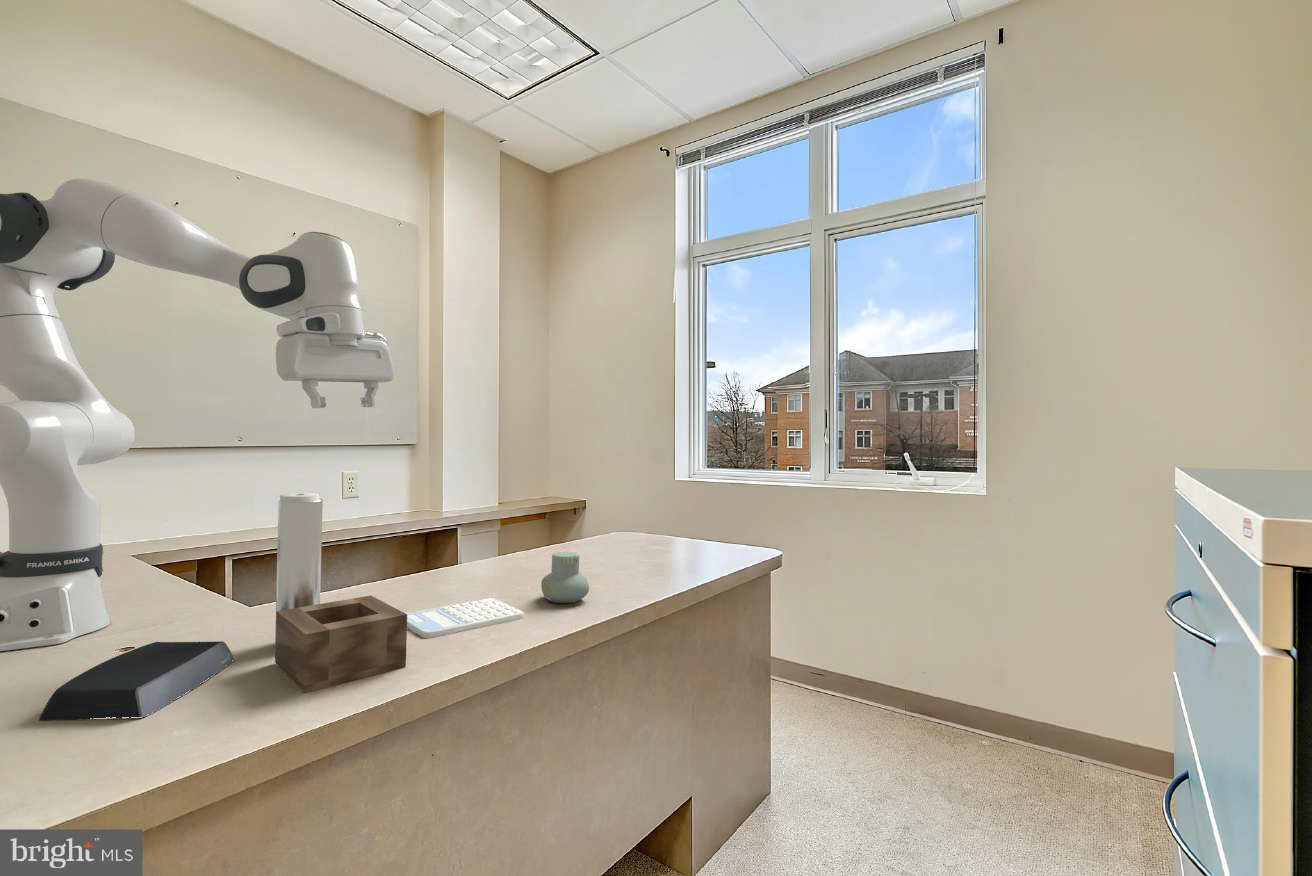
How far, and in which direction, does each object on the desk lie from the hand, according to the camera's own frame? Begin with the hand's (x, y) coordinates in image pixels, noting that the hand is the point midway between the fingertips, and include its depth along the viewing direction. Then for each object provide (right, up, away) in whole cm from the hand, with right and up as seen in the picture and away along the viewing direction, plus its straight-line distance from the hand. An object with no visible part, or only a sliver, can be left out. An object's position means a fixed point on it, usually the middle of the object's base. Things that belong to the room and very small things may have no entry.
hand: (344, 407), depth 106 cm
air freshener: (+34, -41, +26) cm, 59 cm away
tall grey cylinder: (-5, -40, -5) cm, 40 cm away
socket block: (+6, -40, -13) cm, 43 cm away
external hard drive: (-15, -40, -23) cm, 49 cm away
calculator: (+17, -41, +11) cm, 46 cm away
